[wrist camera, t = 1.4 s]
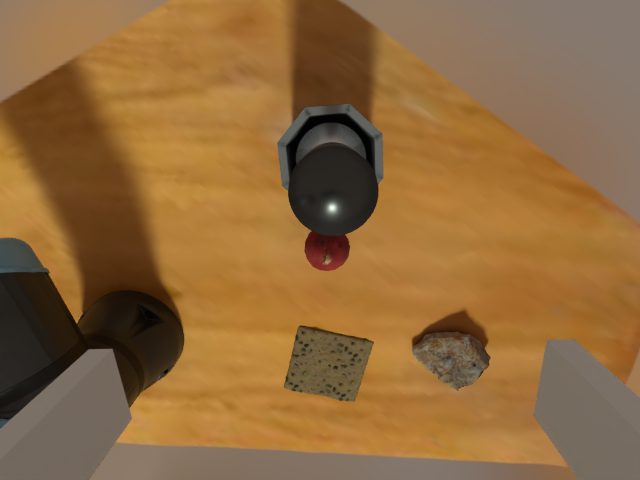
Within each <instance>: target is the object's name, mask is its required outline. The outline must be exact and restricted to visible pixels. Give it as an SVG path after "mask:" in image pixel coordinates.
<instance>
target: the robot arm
mask: <svg viewBox="0 0 640 480" xmlns="http://www.w3.org/2000/svg"><path fill="white" fill-rule="evenodd" d="M49 273H50V272H49V270H48V269H47V268H44V267H43V265H42V264H41V262H40V261H39V259H38V258H37V256H36V255H35V253H34V251H33V250H32V248H31V247H30V246H29V245H28V244H27V243H26V242H24V241H22V240H20V239H16V238H0V480H89V479H90V477H91V476H92V475H93V473H94V472H95V470H96V469H97V468H98V466H99V465H100V463H101V462H102V460H103V459H104V458H105V456H106V455H107V453H108V452H109V450H110V449H111V448H112V446H113V445H114V443H115V442H116V441H117V439H118V438H119V436H120V435H121V433H122V432H123V431H124V429H125V428H126V426H127V425H128V423H129V422H130V421H131V419H132V417H131V413H130V410H129V408H130V407H131V405H132V404H133V403H134V401H135V400H136V398H137V397H138V396H139V394H140V393H141V392H143V391H144V390H146V389H147V388H148V387H150V386H151V385H153V384H154V383H156V382H157V381H158V380H160V379H161V378H163V377H164V376H165V375H167V374H168V373H169V372H170V371H171V369H172V368H173V367H174V365H175V364H176V362H177V361H178V359H179V358H180V356H181V353H182V351H183V346H184V336H183V331H182V328H181V325H180V323H179V321H178V319H177V318H176V316H175V315H174V314H173V312H172V311H171V310H170V309H169V308H168V307H167V306H166V305H164V304H163V303H162V302H160V301H159V300H157V299H155V298H153V297H151V296H149V295H146V294H143V293H140V292H135V291H118V292H113V293H110V294H107V295H105V296H103V297H102V298H100V299H99V300H97V301H96V302H95V303H93V304H92V305H91V306H89V307H88V308H87V309H86V310H85V312H84V313H83V314H82V316H81V317H80V319H79V321H78V323H77V324H76V322H75V320H74V318H73V316H72V315H71V313H70V311H69V309H68V308H67V306H66V304H65V302H64V301H63V299H62V297H61V295H60V293H59V292H58V290H57V288H56V286H55V285H54V283H53V281H52V279H51V278H50V276H49ZM534 416H535V418H536V419H537V421H538V422H539V424H540V425H541V426H542V428H543V429H544V431H545V432H546V434H547V435H548V437H549V438H550V440H551V441H552V442H553V444H554V445H555V447H556V448H557V450H558V451H559V453H560V454H561V455H562V457H563V458H564V460H565V461H566V463H567V464H568V466H569V467H570V469H571V470H572V471H573V473H574V474H575V475H576V477H577V479H578V480H640V397H638V396H637V395H636V394H635V393H634V392H633V391H632V390H631V389H629V388H628V387H627V386H626V385H625V384H624V383H623V382H622V381H620V380H619V379H618V378H617V377H616V376H615V375H614V374H612V373H611V372H610V371H609V370H608V369H607V368H606V367H605V366H603V365H602V364H601V363H600V362H599V361H598V360H597V359H596V358H594V357H593V356H592V355H591V354H590V353H589V352H588V351H587V350H585V349H584V348H583V347H582V346H581V345H580V344H579V343H577V342H576V341H575V340H547V342H546V347H545V353H544V359H543V365H542V371H541V376H540V382H539V388H538V394H537V400H536V405H535V411H534Z"/></svg>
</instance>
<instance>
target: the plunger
mask: <svg viewBox="0 0 640 480" xmlns="http://www.w3.org/2000/svg"><path fill="white" fill-rule="evenodd" d="M296 164H297V165H296V167H295V168H294V170H293V172H292V174H291V177H290V181H289V186H288V197H289V202H290V205H291V208H292V210H293V212H294V214H295V216H296V217H297V218H298V220H299V221H300V222H301V223H302V224H303V225H304V226H306V227H307V228H308V229H310V230H312V231H314V232H316V233H319V234H323V235H328V236H338V235H343V234H347V233H350V232H352V231H354V230H356V229H358V228H359V227H360V226H362V225H363V224H364V223H365V222H366V221H367V220H368V219H369V217H370V216H371V214H372V213H373V211H374V209H375V207H376V203H377V199H378V182H377V178H376V175H375V172H374V170H373V169H372V167H371V165H370V164H369V163H368V161H367V160H366V152H365V147H364V145H363V142H362V141H361V139H360V137H359V136H358V135H357V134H356V133H355V132H354V131H353V130H352V129H350V128H349V127H347V126H345V125H342V124H339V123H324V124H320V125H318V126H316V127H314V128H312V129H311V130H310V131H308V132H307V133H306V134H305V135H304V137H303V138H302V140H301V141H300V143H299V146H298V148H297V153H296Z"/></svg>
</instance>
